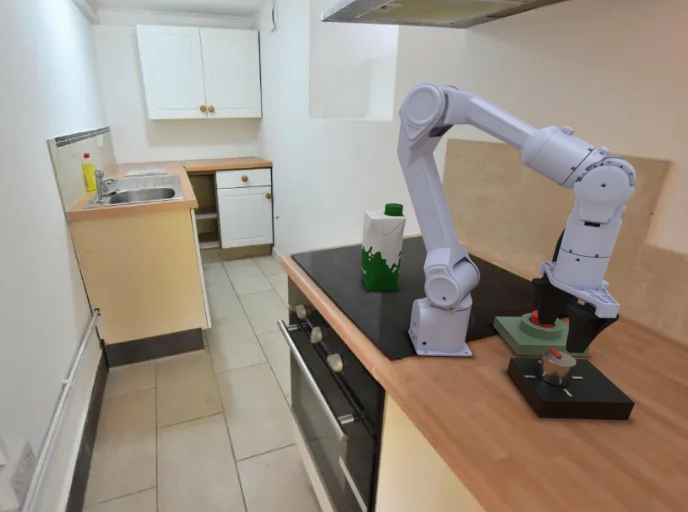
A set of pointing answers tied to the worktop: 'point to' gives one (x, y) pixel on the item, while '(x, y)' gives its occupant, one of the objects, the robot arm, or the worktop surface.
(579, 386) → the control panel
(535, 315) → the red button
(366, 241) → the milk carton
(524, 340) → the button block
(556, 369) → the dial knob
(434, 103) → the robot arm
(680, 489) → the worktop surface
